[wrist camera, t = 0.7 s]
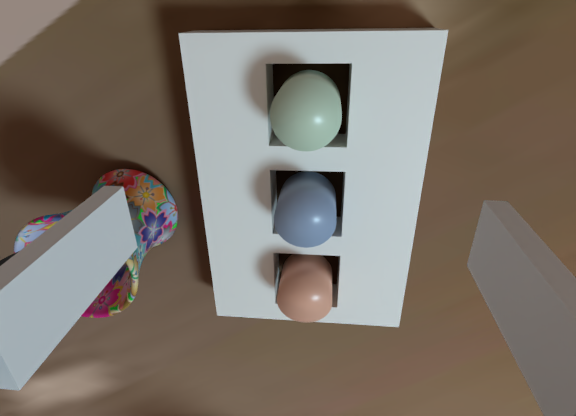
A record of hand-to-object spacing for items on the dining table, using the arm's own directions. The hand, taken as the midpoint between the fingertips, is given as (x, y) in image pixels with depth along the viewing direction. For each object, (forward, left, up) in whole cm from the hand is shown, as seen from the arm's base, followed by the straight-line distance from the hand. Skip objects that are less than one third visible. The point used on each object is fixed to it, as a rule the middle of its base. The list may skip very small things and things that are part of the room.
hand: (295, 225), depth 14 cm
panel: (0, -7, -19) cm, 21 cm away
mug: (-18, -10, -19) cm, 29 cm away
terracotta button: (0, -15, -17) cm, 23 cm away
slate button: (0, -7, -17) cm, 19 cm away
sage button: (0, +1, -17) cm, 17 cm away
